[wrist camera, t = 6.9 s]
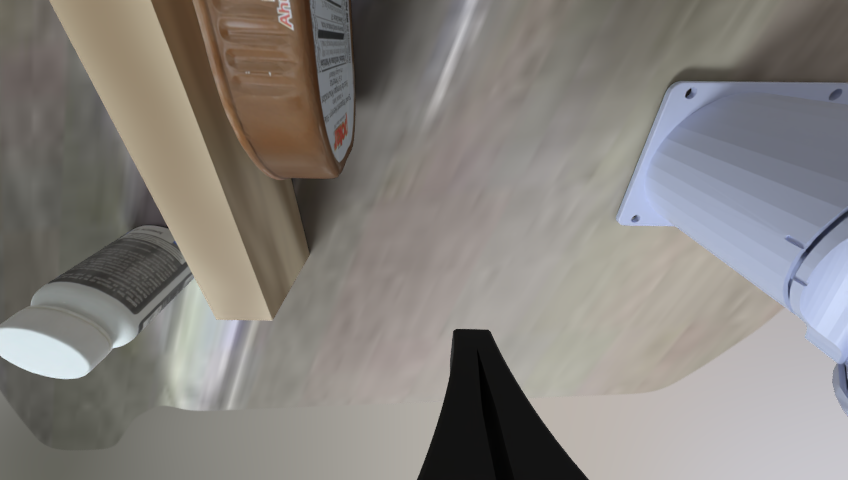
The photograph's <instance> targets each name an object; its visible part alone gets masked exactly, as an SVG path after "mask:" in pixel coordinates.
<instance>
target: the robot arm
mask: <svg viewBox="0 0 848 480" xmlns="http://www.w3.org/2000/svg"><path fill="white" fill-rule="evenodd" d="M690 88H691V93H690V94H689V95H688V96H687V97H685V94H686V92H687V91H688V90H689V89H690ZM832 92H833V93H832ZM831 93H832V94H831ZM830 94H831V95H830ZM635 215H637V216H636V217H635V218H634V219H632V217H633V216H635ZM616 220H617V222H619V223H620V224H621V225H632V226H676V227H677V228H678V229H680V230H681V231H682V232H684V233H685V234H686V235H688V236H689V237H691V238H692V239H693V240H695V241H696V242H697V243H699V244H700V245H701V246H703V247H704V248H705V249H707V250H708V251H709V252H711V253H712V254H714V255H715V256H716V257H718V258H719V259H720V260H722V261H723V262H724V263H726V264H727V265H728V266H730V267H731V268H732V269H734V270H735V271H737V272H738V273H739V274H741V275H742V276H743V277H745V278H746V279H747V280H749V281H750V282H751V283H753V284H754V285H755V286H757V287H758V288H759V289H761V290H762V291H764V292H765V293H766V294H768V295H769V296H770V297H772V298H773V299H774V300H776V301H777V302H778V303H780V304H781V305H782V306H784V307H785V308H787V309H788V310H789V311H791V312H792V313H794V314H795V315H797V316H798V317H799V318H800V319H801V320H802V321H804V323H805V324H806V326H807V332H806V334H805V338H806V339H807V340H808V341H810V342H811V343H812V344H814V345H815V346H816V347H817V348H819V349H820V350H821V351H823V352H824V353H825V354H826V355H828V356H829V357H830V358H832V359H833V360H834V361H835V362H836V363H837V364H836V366H835V368H834V370H833V379H832V383H833V387H834V392H835V395H836V397H837V399H838V402H839V403H840V406H841V407H842V409H843V411H844V412H845V414H846V415H847V416H848V83H837V82H731V81H678V82H675V83H673V84H672V85H671V86H670V87H669V88H668V89H667V91H666V93H665V96H664V98H663V101H662V103H661V106H660V108H659V111H658V113H657V116H656V118H655V121H654V123H653V126H652V128H651V131H650V133H649V136H648V138H647V141H646V143H645V146H644V148H643V151H642V153H641V156H640V158H639V161H638V163H637V166H636V168H635V171H634V173H633V176H632V178H631V181H630V183H629V186H628V188H627V191H626V193H625V196H624V198H623V201H622V203H621V206H620V208H619V211H618V213H617V216H616ZM417 480H589V479H588V478H587V477H586V476H585V475H584V473H583V472H582V471H581V470H580V469H579V468H578V466H577V465H576V464H575V463H574V462H573V461H572V459H571V458H570V457H569V456H568V454H567V453H566V452H565V451H564V449H563V448H562V447H561V446H560V444H559V443H558V442H557V440H556V439H555V438H554V436H553V435H552V434H551V432H550V431H549V430H548V428H547V427H546V426H545V424H544V423H543V421H542V420H541V419H540V417H539V416H538V414H537V413H536V411H535V410H534V408H533V407H532V405H531V404H530V402H529V401H528V399H527V398H526V396H525V394H524V393H523V391H522V390H521V388H520V386H519V385H518V383H517V381H516V380H515V378H514V376H513V375H512V373H511V371H510V369H509V368H508V366H507V364H506V362H505V360H504V359H503V357H502V355H501V353H500V351H499V349H498V347H497V345H496V343H495V341H494V338H493V336H492V334H491V332H490V331H489V330H477V329H456V330H454V331H453V339H452V348H451V358H450V377H449V382H448V386H447V390H446V394H445V398H444V402H443V406H442V410H441V413H440V416H439V420H438V423H437V426H436V429H435V432H434V435H433V438H432V441H431V444H430V447H429V450H428V453H427V455H426V458H425V461H424V464H423V466H422V469H421V471H420V474H419V476H418V479H417Z"/></svg>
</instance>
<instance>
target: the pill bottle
mask: <svg viewBox="0 0 848 480" xmlns="http://www.w3.org/2000/svg"><path fill="white" fill-rule="evenodd" d="M193 278H194V276H193V274H192V272H191V270H190V268H189V266H188V264H187V262H186V260H185V258H184V256H183V255H182V253H181V251H180V249H179V247H178V245H177V243H176V241H175V239H174V237H173V235H172V234H171V232H170V230H169V229H167V228H164V227H160V226H153V225H145V226H140V227H137V228H135V229H133V230H131V231H129V232H128V233H126V234H125V235H123V236H121V237H120V238H119V239H117V240H116V241H114V242H112V243H111V244H109V245H107V246H106V247H104V248H103V249H101V250H100V251H98V252H97V253H95V254H93V255H92V256H90V257H88V258H87V259H85V260H84V261H82V262H81V263H79V264H78V265H76V266H74V267H73V268H72V269H70V270H68V271H67V272H65V273H63V274H62V275H60V276H59V277H57V278H56V279H54V280H52V281H50V282H49V283H47V284H46V285H44V286H43V287H42V288H40V289H39V290H38V291H37V292H36V293H35V294H34V296H33V298H32V301H31V306H29V307H27V308H24V309H23V310H21V311H19V312H17V313H16V314H14V315H13V316H12V317H10V318H9V319H7V320H6V321H5V322H3V323H2V324H0V356H1V357H3V358H4V359H6V360H8V361H9V362H11V363H13V364H15V365H17V366H18V367H20V368H23V369H25V370H28V371H30V372H33V373H36V374H40V375H44V376H48V377H52V378H60V379H74V378H79V377H82V376H84V375H86V374H88V373H89V372H90V371H91V370H92V369H93V368H94V367H95V366H96V365H97V364H98V363H99V362H101V361H102V360H103V359H104V358H105V357H106V356H107V354H109V353H110V352H111V350H112V348H116V347H120V346H123V345H125V344H127V343H128V342H130V341H131V340H133V339H134V338H135V337H136V336H137V335H138V334H139V333H140V332H141V331H142V330H143V329H144V328H145V327H146V326H147V325H148V324H149V323H150V322H151V321H152V320H153V319H154V318H155V317H156V316H157V315H158V314H159V312H160V311H161V310H163V309H164V308H165V306H166V305H167V304H168V303H169V302H170V301H171V300H172V299H173V298H174V297H175V296H176V295H177V294H178V293H179V292H180V291H181V290H182V289H183V288H184V287H185V286H187V284H188V283H189V282H190V281H191V280H192V279H193Z"/></svg>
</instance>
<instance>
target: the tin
mask: <svg viewBox="0 0 848 480" xmlns="http://www.w3.org/2000/svg"><path fill="white" fill-rule="evenodd" d="M192 1H193V4H194V8H195V11H196V14H197V18H198V21H199V25H200V29H201V32H202V36H203V40H204V44H205V47H206V51H207V55H208V59H209V63H210V67H211V70H212V73H213V76H214V79H215V83H216V86H217V89H218V93H219V96H220V99H221V102H222V105H223V107H224V110H225V113H226V115H227V117H228V119H229V121H230V124H231V126H232V128H233V130H234V132H235V134H236V136H237V138H238V140H239V142H240V144H241V145H242V147H243V149H244V150H245V151H246V153H247V154H248V156H249V157H250V159H251V160H252V161H253V162H254V164H255V165H256V166H257V167H258V169H260V170H261V171H262V172H263V173H265V174H266V175H267V176H269V177H271V178H273V179H276V180H286V179H289V178H319V179H328V178H336V177H338V176H339V174H340V173H341V172H342V170H343V168H344V165H345V163H346V160H347V158H348V156H349V154H350V152H351V150H352V147H353V141H354V131H355V71H354V55H353V35H352V17H351V0H192Z"/></svg>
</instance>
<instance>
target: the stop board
mask: <svg viewBox="0 0 848 480" xmlns="http://www.w3.org/2000/svg"><path fill="white" fill-rule="evenodd" d="M49 1H50V3H51V4H52V6H53V8H54V10H55V12H56V14H57V16H58V18H59V20H60V22H61V24H62V25H63V27H64V29H65V31H66V33H67V35H68V37H69V39H70V41H71V43H72V45H73V46H74V48H75V50H76V52H77V54H78V56H79V58H80V60H81V62H82V64H83V66H84V67H85V69H86V71H87V73H88V75H89V77H90V79H91V81H92V83H93V85H94V87H95V88H96V90H97V92H98V94H99V96H100V98H101V100H102V102H103V104H104V106H105V108H106V109H107V111H108V113H109V115H110V117H111V119H112V121H113V123H114V125H115V127H116V129H117V130H118V132H119V134H120V136H121V138H122V140H123V142H124V144H125V146H126V148H127V150H128V151H129V153H130V155H131V157H132V159H133V161H134V163H135V165H136V167H137V169H138V171H139V172H140V174H141V176H142V178H143V180H144V182H145V184H146V186H147V188H148V190H149V192H150V193H151V195H152V197H153V199H154V201H155V203H156V205H157V207H158V209H159V211H160V213H161V214H162V216H163V218H164V220H165V222H166V224H167V226H168V228H169V230H170V232H171V234H172V235H173V237H174V239H175V241H176V243H177V245H178V247H179V249H180V251H181V253H182V255H183V256H184V258H185V260H186V262H187V264H188V266H189V268H190V270H191V272H192V274H193V276H194V278H195V279H196V281H197V283H198V285H199V287H200V289H201V291H202V293H203V295H204V297H205V299H206V300H207V302H208V304H209V306H210V308H211V310H212V312H213V314H214V316H215V318H216V320H272V321H273V319H274V317H275V315H276V314H277V312H278V310H279V308H280V306H281V305H282V303H283V301H284V299H285V298H286V296H287V294H288V292H289V291H290V289H291V287H292V285H293V283H294V282H295V280H296V278H297V276H298V275H299V273H300V271H301V269H302V268H303V266H304V264H305V262H306V260H307V259H308V257H309V255H310V254H309V250H308V246H307V242H306V237H305V233H304V229H303V225H302V221H301V217H300V213H299V209H298V205H297V200H296V196H295V192H294V188H293V184H292V180H291V178H289V179H286V180H276V179H273V178H271V177H269V176H267V175H266V174H265V173H263V172H262V171H261V170H260V169H258V167H257V166H256V165H255V164H254V162H253V161H252V160H251V159H250V157H249V156H248V154H247V153H246V151H245V150H244V149H243V147H242V145H241V144H240V142H239V140H238V138H237V136H236V134H235V132H234V130H233V128H232V126H231V124H230V121H229V119H228V117H227V115H226V113H225V110H224V107H223V105H222V102H221V99H220V96H219V93H218V89H217V86H216V83H215V79H214V76H213V73H212V70H211V67H210V63H209V59H208V55H207V51H206V47H205V44H204V40H203V36H202V32H201V29H200V25H199V21H198V18H197V14H196V11H195V8H194V4H193V1H192V0H49Z"/></svg>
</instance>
